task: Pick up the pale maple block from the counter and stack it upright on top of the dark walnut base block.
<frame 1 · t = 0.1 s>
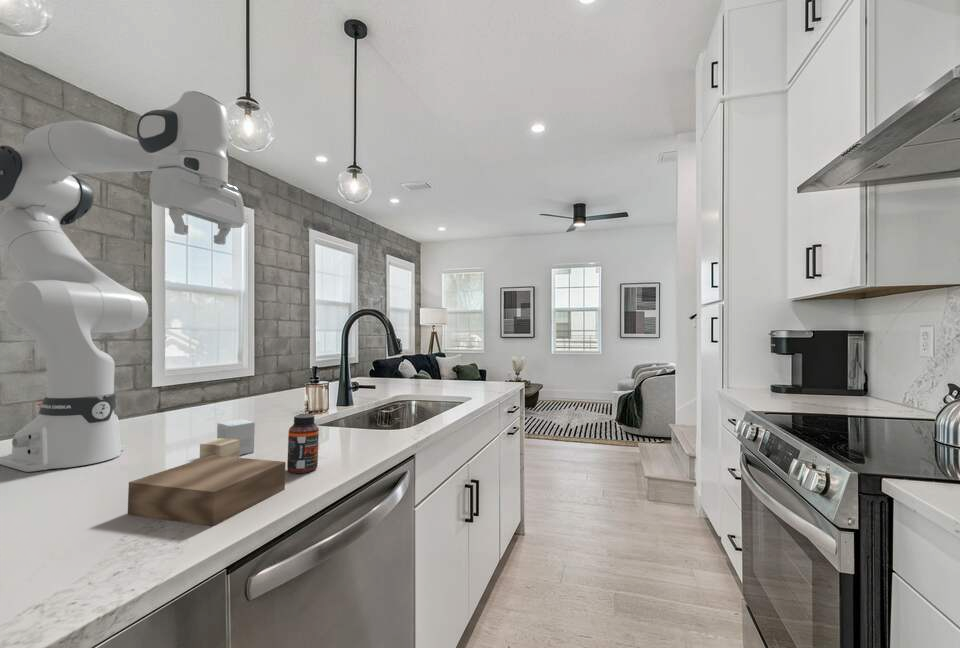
hand: (201, 239, 91), 48 cm above the countertop, fingers open, 8 cm apart
walnut base: (212, 500, 74), on the countertop
supplement bottle: (302, 470, 92), on the countertop
maple block: (219, 470, 91), on the countertop
product box: (235, 454, 104), on the countertop
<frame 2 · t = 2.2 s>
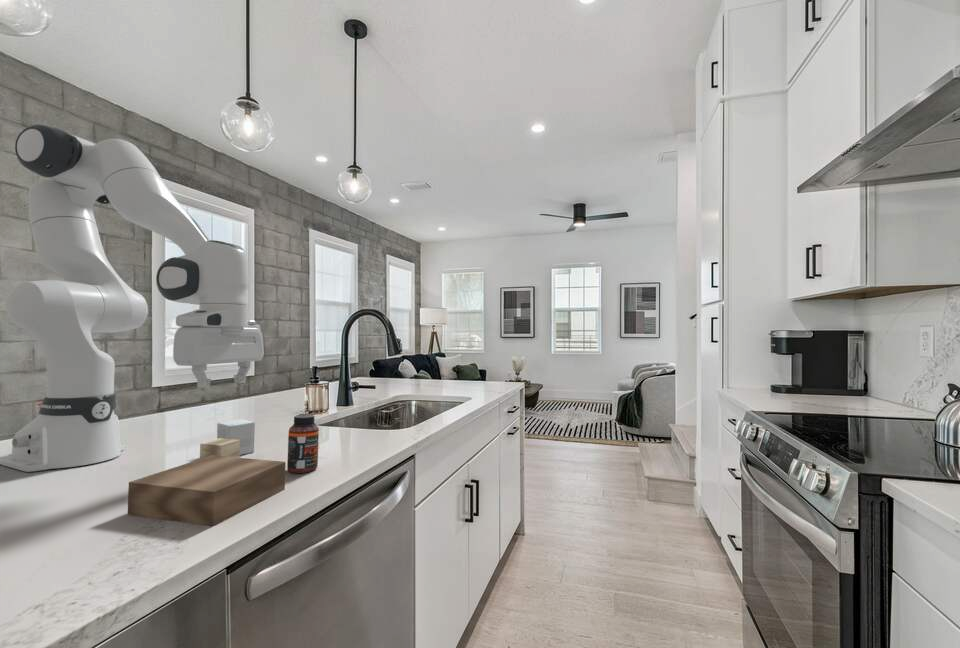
hand: (222, 385, 91), 18 cm above the countertop, fingers open, 8 cm apart
nothing on the countertop moved.
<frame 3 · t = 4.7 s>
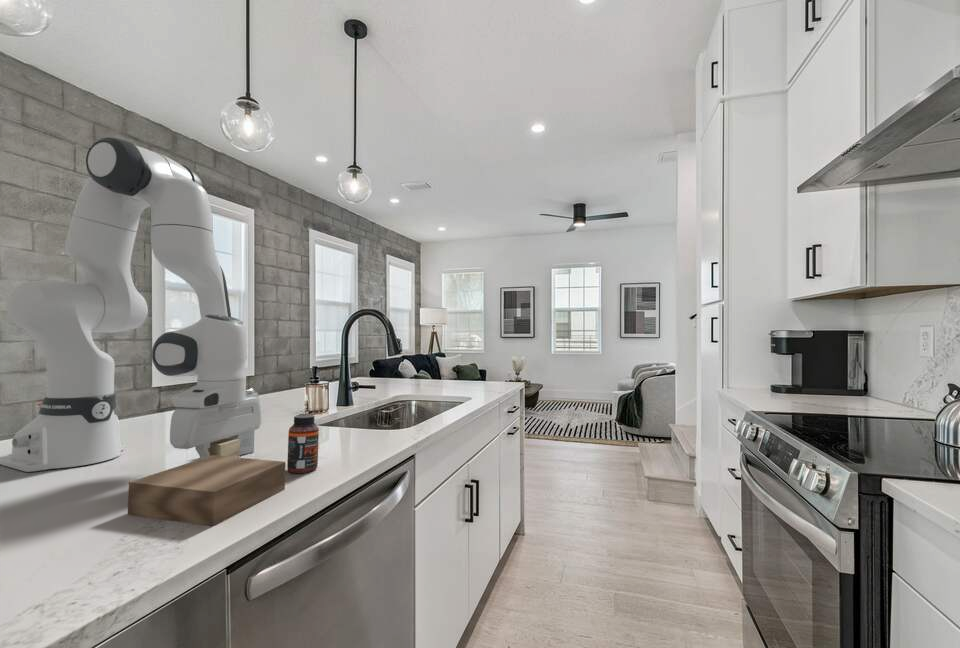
hand: (219, 460, 91), 2 cm above the countertop, fingers closed on maple block, 5 cm apart
maple block: (219, 470, 91), on the countertop, touching gripper
everything else where it was.
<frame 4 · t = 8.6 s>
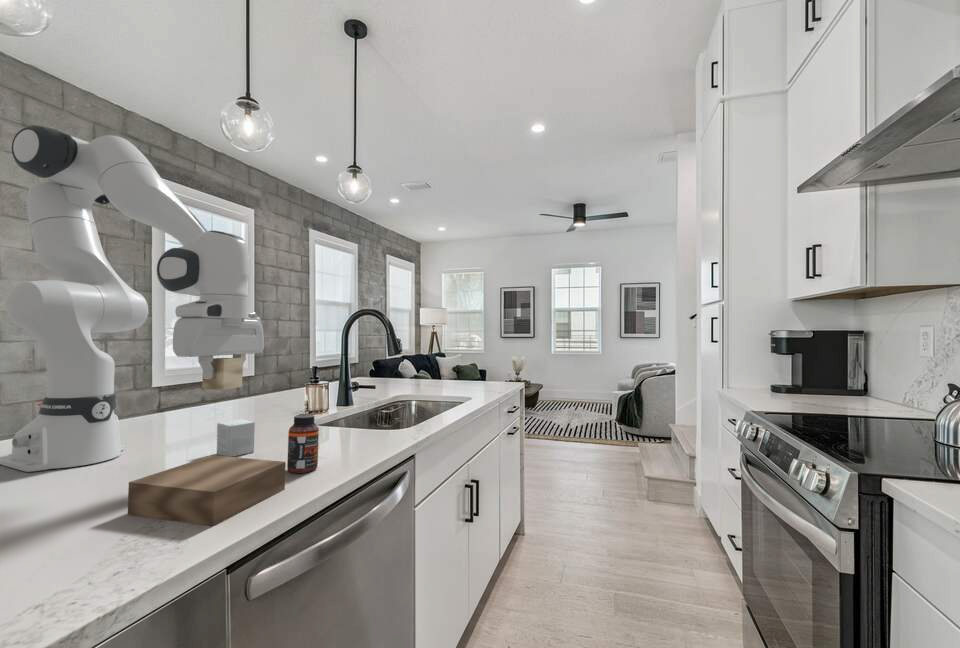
hand: (222, 377, 90), 19 cm above the countertop, fingers closed on maple block, 5 cm apart
maple block: (222, 387, 90), point 17 cm above the countertop, touching gripper
everything else where it was.
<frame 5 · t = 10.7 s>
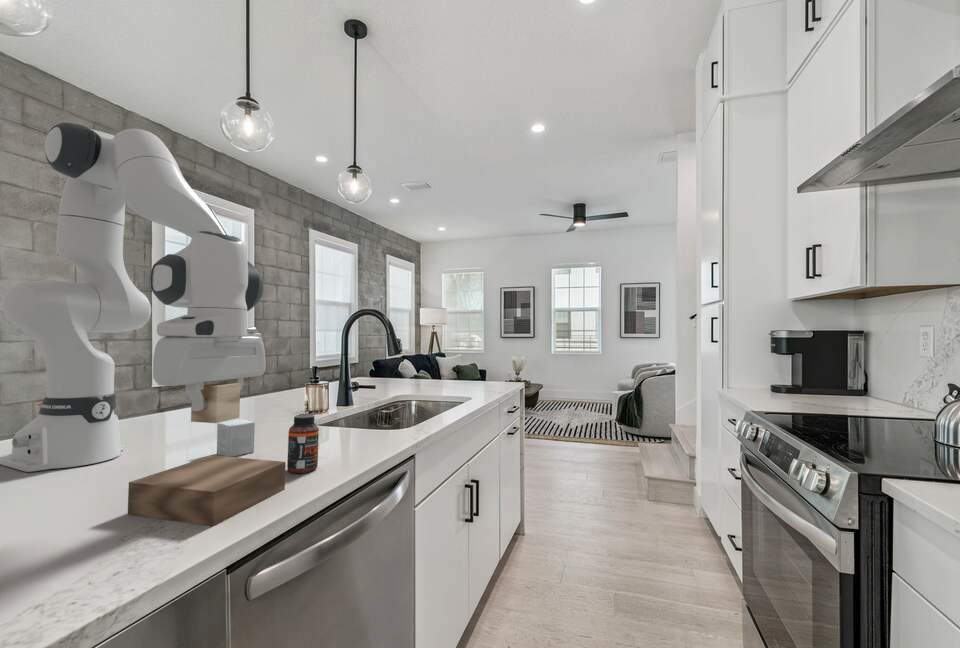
hand: (215, 407, 75), 16 cm above the countertop, fingers closed on maple block, 5 cm apart
maple block: (215, 419, 75), point 14 cm above the countertop, touching gripper
everything else where it was.
when the fingers open (9 cm above the countertop, at t = 12.7 s): maple block drops 1 cm, resting on walnut base.
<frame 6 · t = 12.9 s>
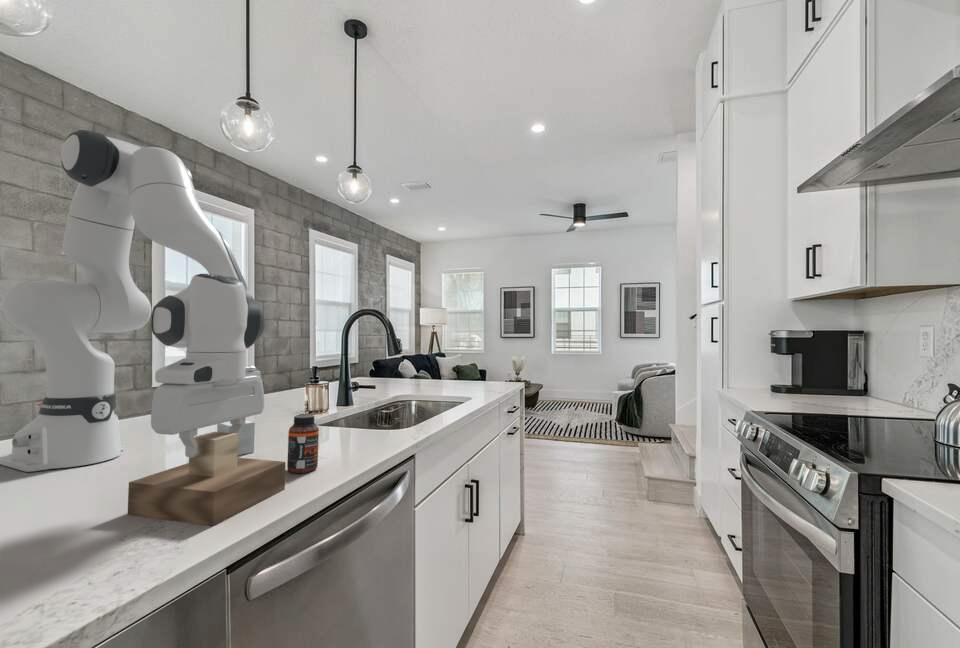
hand: (213, 450, 75), 9 cm above the countertop, fingers open, 7 cm apart
maple block: (213, 471, 74), point 5 cm above the countertop, touching walnut base
everything else where it was.
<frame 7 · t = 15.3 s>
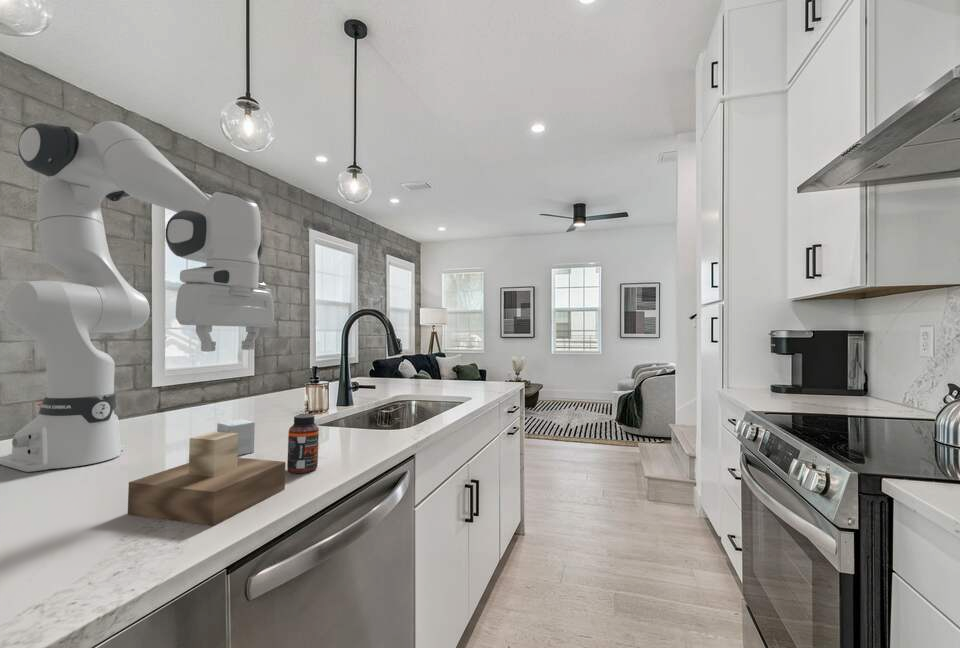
hand: (228, 350, 84), 25 cm above the countertop, fingers open, 8 cm apart
nothing on the countertop moved.
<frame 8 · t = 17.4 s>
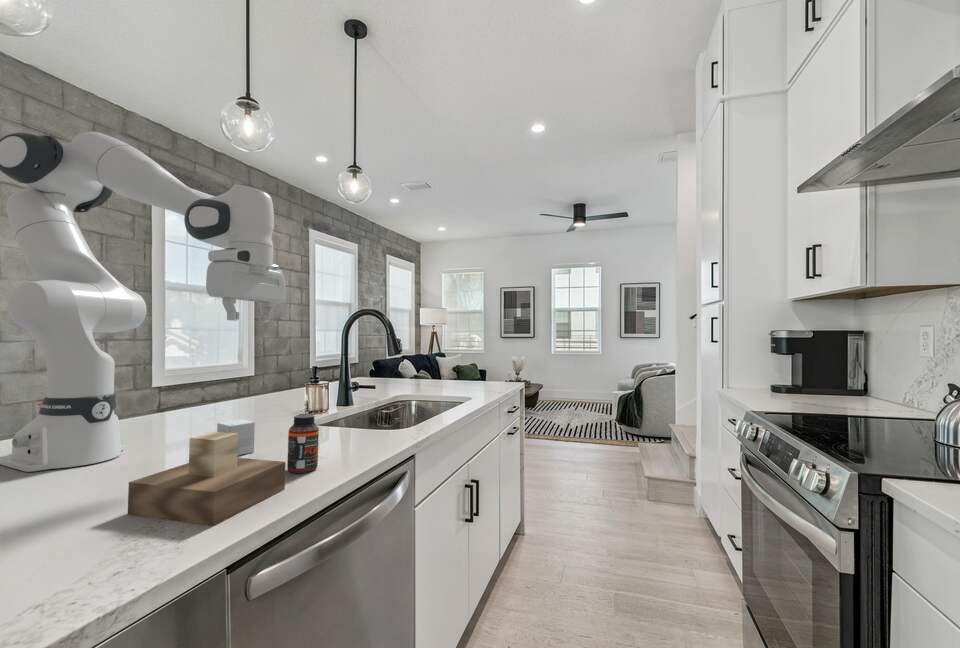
hand: (249, 321, 97), 31 cm above the countertop, fingers open, 8 cm apart
nothing on the countertop moved.
at the end: maple block inside the target area on the walnut base (0.0 cm from its centre), point 5.0 cm above the walnut base's base; maple block tilted 0°; the gripper is holding nothing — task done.
